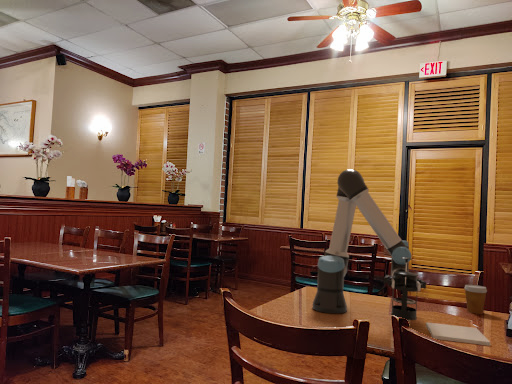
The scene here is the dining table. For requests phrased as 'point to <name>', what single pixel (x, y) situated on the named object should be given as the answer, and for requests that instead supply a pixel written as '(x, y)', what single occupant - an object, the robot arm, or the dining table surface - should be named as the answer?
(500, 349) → the dining table surface
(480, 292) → the disposable coffee cup
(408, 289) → the french press
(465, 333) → the ceramic trivet
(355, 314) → the dining table surface
